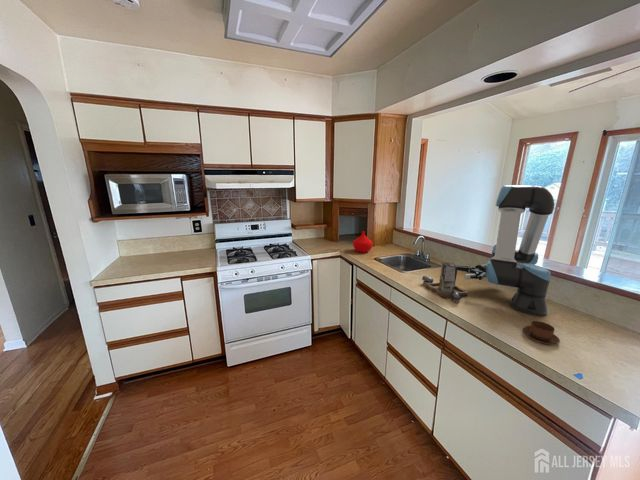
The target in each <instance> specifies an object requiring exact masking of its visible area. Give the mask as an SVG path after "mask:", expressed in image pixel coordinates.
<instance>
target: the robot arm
mask: <svg viewBox="0 0 640 480" xmlns="http://www.w3.org/2000/svg"><path fill="white" fill-rule="evenodd" d="M495 206H496V207H498V211H499V212H500V219H499V223H498V224H499V225H498V230H497V231H498V232H497V238H496V244H494V245H493V247H492V250H491V257H490V260H489V261H487V262H486V263H485V264H484V263H483V264H477V265H475V266H471V265H463V264H455V265H456V266H457V267H458V269H457V271H461V272H465V273H468V274H464V280H474V279H476V280H478V281H482V280H483V279H484V278H486V279H487V280H486V281H487V282H488V283H490V284H494V285H496V286H497V285H500V286H505V287H511V288H516V292H515V293H514V294H513V296H512V298H511V299H510V302H509V305H510V307H511V308H513V309H515V310H516V311H519V312H520V313H521V312H522V313H524V314H527V315H532V316H546V315H547V314H548V313H547V312H548V306H547V301H546V297H547V293H548V290H549V289H548V288H549V286H550V282H551V271H550V270H548V269H547V268H545V267H542V266H540V265H536V264H538V261H539V254H538V252H536V251H537V248H538V246H539V243H540V240H541V237H542V235H543V232H544V229H545V227H546V225H547V224H546V223H547V221H548V218H549V216H550V215H552V214H553V212H554V210H555V209H554V208H555V200H554V196H553V194H552V193H551V191H550V190H548V189H547V188H545V187H543V186H540V185H524V184H523V185H522V184H521V185H520V184H509V185H508V184H507V185H506V184H505V185H503V186H502V187H501V188H500V189H499V193H498V195H497V199H496V202H495ZM526 209H528V211H529V212H530V214H529V217H528V220H527V223H526V226H525V229H524V233H523V236H522V239H521V242H520V245H519V248H518V250H517V241H518V235H519V228H520V222H521V215H522V213H524V212H525V211H526ZM518 264H522V265H518Z"/></svg>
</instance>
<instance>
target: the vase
mask: <svg viewBox="0 0 640 480" xmlns="http://www.w3.org/2000/svg"><path fill="white" fill-rule="evenodd" d="M373 244H374V243H373V240H371V239H370V238H369V237H368V236H366V231H365V230H363V231H361V234H360V236H358V237H357V238H355V239H354V240H353V242H352V246H353V248H354V250H355V251H356V252H357V253H363V254H364V253H369V252H370V251H371V249H372V248H373V246H374V245H373Z"/></svg>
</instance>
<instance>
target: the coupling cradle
mask: <svg viewBox="0 0 640 480" xmlns="http://www.w3.org/2000/svg"><path fill="white" fill-rule="evenodd" d="M425 288H426V289H427V290H429V291H431V292H432V293H434V294H436V295H438V296H439V297H441V298H442V299H444V300H447V299H451V298H452V297H453V296H452V295H451V293H444V292H442V291H441V289H440V288H439V282H433V283H429V284H426V285H425ZM454 291H456V292H457V293H458V294H459V295H460V296H461V298H464V297H469V292H468V291H467V290H464V289H463V288H460V287H459V286H458V285H455V288H454Z"/></svg>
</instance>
